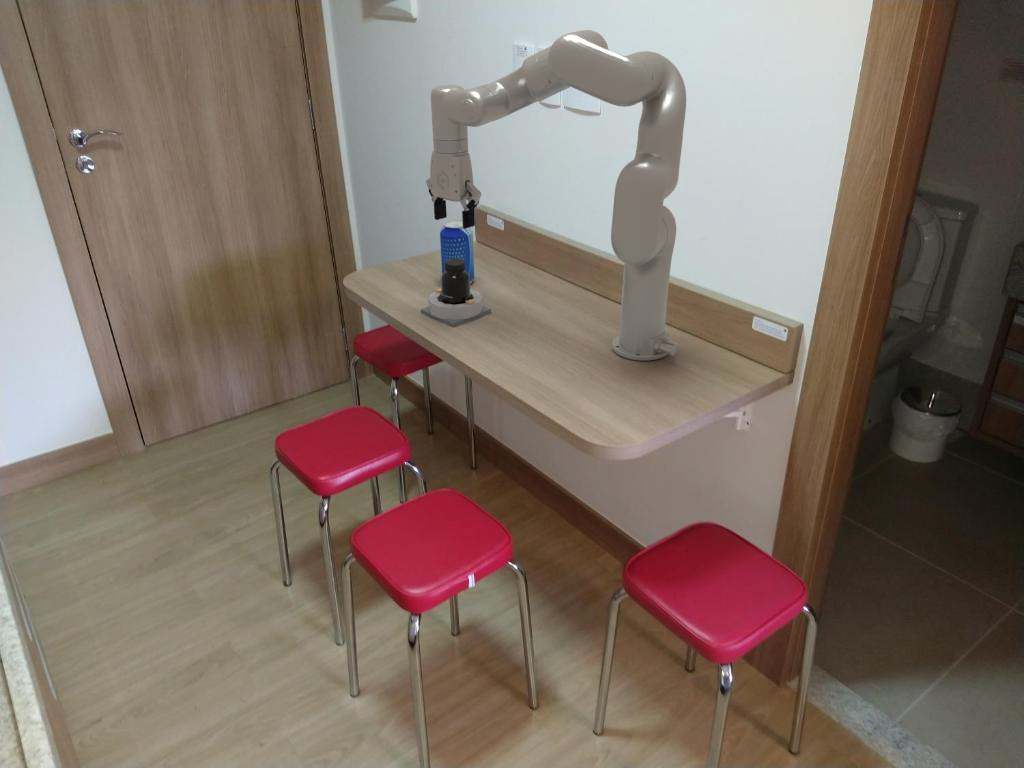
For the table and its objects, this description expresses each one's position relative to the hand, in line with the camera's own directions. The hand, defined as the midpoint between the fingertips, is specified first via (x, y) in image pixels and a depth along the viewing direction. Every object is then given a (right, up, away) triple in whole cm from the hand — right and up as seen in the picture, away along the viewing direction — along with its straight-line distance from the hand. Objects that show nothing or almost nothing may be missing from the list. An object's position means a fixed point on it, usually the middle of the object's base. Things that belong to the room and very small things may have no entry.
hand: (454, 222), depth 181 cm
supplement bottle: (0, -19, +10) cm, 22 cm away
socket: (0, -20, +10) cm, 22 cm away
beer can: (-1, -10, +29) cm, 30 cm away
